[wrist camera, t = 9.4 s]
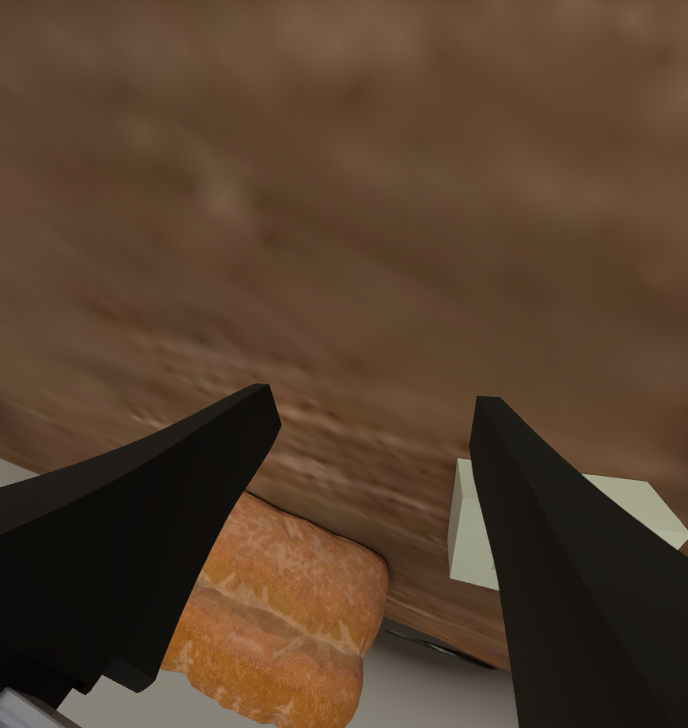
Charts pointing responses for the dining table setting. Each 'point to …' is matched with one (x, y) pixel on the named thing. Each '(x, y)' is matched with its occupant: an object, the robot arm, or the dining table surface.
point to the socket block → (471, 540)
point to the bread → (281, 619)
